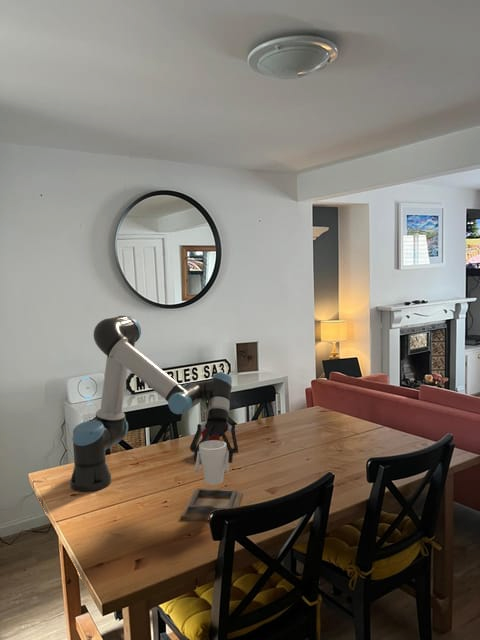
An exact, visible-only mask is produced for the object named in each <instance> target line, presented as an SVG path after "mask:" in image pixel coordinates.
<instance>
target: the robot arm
mask: <svg viewBox="0 0 480 640" xmlns="http://www.w3.org/2000/svg"><path fill="white" fill-rule="evenodd" d="M141 334H142V328H141V326H140V324H139V322H138V321H137V319H136V318H134V317H132V316H131V315H118V316H115V317H110V318H105V319H102V320H100V321H99V322H98V323H97V324H96V326H95V327H94V330H93V339H94V342H95V343H94V344H96V346H97V348H98V349H99V350H100V351H101V352H102V353H103V354H104V355H106V363H105V368H104V369H105V370H104V378H103V386H102V394H101V400H100V401H101V404H100V408H99V409H98V410H97V411H96V412H95V419H94V420H93V419H92V420H87V421H83V422H80V423H79V424H76V426H75V427H73V430H72V447H73V449H72V450H73V460H74V461H73V462H74V467H73V471H72V473H71V478H70V488H71V489H72V490H74V491H76V492H85V493H87V492H94V491H98V490H102V489H103V488H104V489H105V488H106V487H108V486H109V485H110V484H111V483H112V476H111V473H110V469H109V467H108V464H107V461H106V460H107V459H106V450H108V449H110V448H112V447H113V446H115V445H117V444H119V443H120V442H121V441H122V440H124V438H125V437H126V436H127V434H128V432H129V423H128V421H127V419H126V414H125V413H124V411H123V404H124V397H125V390H126V383H127V374H128V370H129V371H130V372H131V373H132V374H133V375H135V377H137V378H139V379H140V380H141V381H142V382H143V383H144V384H146V385H147V386H148V387H149V388H150V389H152V390H153V391H154V392H155V393H157V394H158V395H160V397H162V398H163V400H165V401H167V405H168V408H169V410H170V411H171V412H172V413H173V414H176V415H181V414H182V415H183V414H184V413H187V412H189V411H190V410H191V409H192V408H194V407H195V406H197V405H199V403H204V402H208V403H209V404H208V410H207V417H206V422H207V423H206V424H205V425H200V423H198V424H197V429H196V432H195V434H194V437H193V439H192V441H191V444H190V447H189V450H190V451H191V452H192V453H194V455H193V461H194V463H195V468H194V469H195V471H196V473H200V467H201V466H200V465H201V456H200V453H199V444H200V443H201V442H204V441H208V440H209V439H210V438H211V436H212V437H215V436H217V437H220V438H222V441H223V442H225V443H226V447H227V452H226V457H225V467H224V473H226V474H229V469H230V464H233V460H234V459H233V458H234V454H238V453H239V447H238V446H239V445H238V441H237V437H236V432H237V427H236V425H235V424H232V425H229V423H228V422H229V414H230V413H229V412H230V405H231V404H230V402H231V394H232V387H233V386H232V381H233V379H232V377H231V375H230V374H228V373H226V372H222V371H220V372H216V373H214V374H213V375H212V378H211V379H210V380H206V381H205V380H204V381H197V382H189V383H186V384H183V385H181V384H180V383H179V382H177V381H176V380H175V379H174V378H172V377H171V375H169V374H168V373H166V372H165V371H164V370H163V369H161V368H160V367H159V366H158V365H157V364H155V363H154V362H153V361H152V360H151V359H149V358H148V357H147V356H145V355H144V354H143V353H142V352H141V351H139V350H138V349H137V348H135V345H136V342H138V341H139V339H140V337H141ZM204 429H206V430H207V432H206V433H205V435H204V437H203V438H202V437H201V436H202V432H203V430H204ZM228 430H229V432H230V433H231V438H232V443H233V444H232V445H233V448H232V445H231V444H230V441H229V440H228V437H227V435H226V433H227V432H228ZM200 439H201V440H200Z"/></svg>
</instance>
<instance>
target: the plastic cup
mask: <svg viewBox="0 0 480 640" xmlns="http://www.w3.org/2000/svg"><path fill="white" fill-rule="evenodd" d="M206 423H207V421H202V422H200V423H199V424H200V425H205V424H206ZM206 432H207V430H206V429H204V430H203V432H202V434H201V436H202V437H201V439H202V438H203V437H204V435H205V433H206ZM220 439H221V437H217V436H215V437H212V436H211V438H210V439H209V440H219V441H220ZM209 440H208V441H209Z"/></svg>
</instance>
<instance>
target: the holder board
mask: <svg viewBox="0 0 480 640" xmlns="http://www.w3.org/2000/svg"><path fill="white" fill-rule="evenodd" d="M243 496H244V492H243V491H238V490H237V489H225V488H224V489H223V488H222V489H221V488H218V489H217V488H196V490H195V489H194V490H193V491H192V494H191V496H190V498H189V500H188V501H187V503H186V505H185V507H184V509H183V511H182V513H181V514H180V520H182V521H201V522H203V521H205V522H207V521H208V518H209V515H210V513H211V512H212V511H214V510H217V509H226V508H233V507H239V508H240V506H241V502H242V499H243ZM208 522H209V521H208Z"/></svg>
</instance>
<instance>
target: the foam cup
mask: <svg viewBox="0 0 480 640" xmlns="http://www.w3.org/2000/svg"><path fill="white" fill-rule="evenodd" d="M198 444H199V443H198ZM227 452H228V448H227V446H226V443H225V442H224V440H220V439H219V440H209V441H204V442H201V443H200V444H199V453H200V456H201V459H200V463H201V467H202V468H201V469H202V472H203V473H202V474H203V480H204V483H205V484H206V485H208V486H218V485H220V484H223V482H224V475H225V464H226V454H227Z"/></svg>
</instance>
